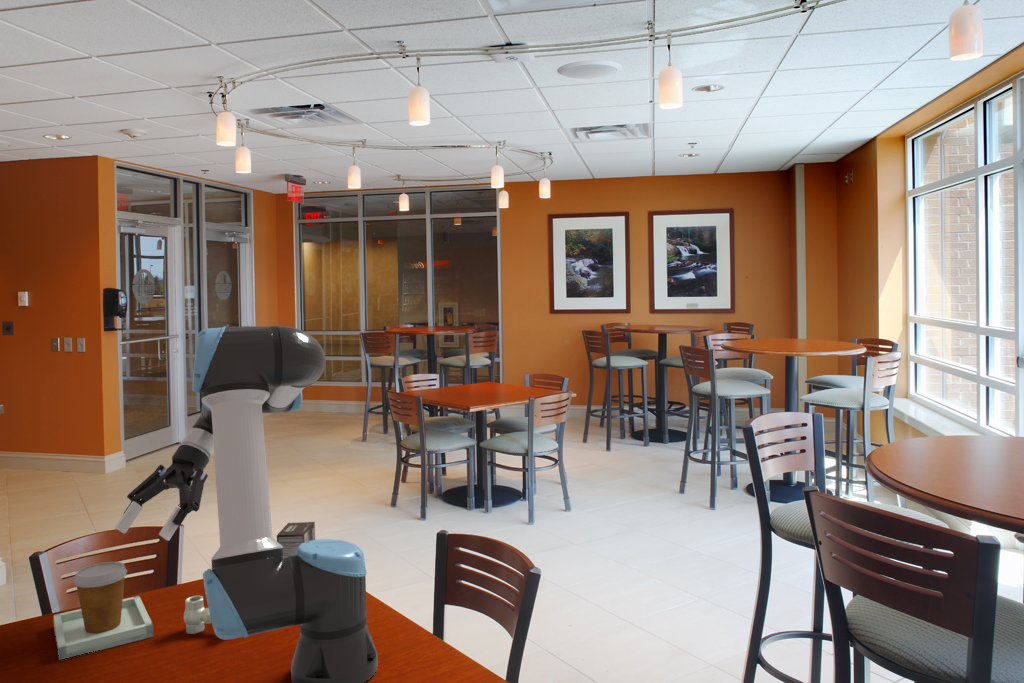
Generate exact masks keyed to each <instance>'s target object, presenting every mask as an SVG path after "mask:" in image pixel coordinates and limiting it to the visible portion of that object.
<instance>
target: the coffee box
mask: <svg viewBox="0 0 1024 683" xmlns="http://www.w3.org/2000/svg"><path fill="white" fill-rule="evenodd" d="M315 524H316V523H315V521H305V522H302V521H301V522H287V524H286V525H285V526H284V527H283V528H282V529H281V530H280V531H279V532H278V533H277V535H276V541H277V542H278V543H279V544H281V545H282V546H283V555H284V557H288V556H294V555H297V554H296V551H297V549H298V547H299V545H301V544H302V543H306V542H308V541H312V540H316V531H315V530H316V527H315V526H316V525H315Z"/></svg>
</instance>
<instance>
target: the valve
mask: <svg viewBox="0 0 1024 683" xmlns="http://www.w3.org/2000/svg"><path fill="white" fill-rule="evenodd" d="M184 602H185V603H184V604H185V605H184V607H185V608H184V612H183V621H184V623H185V633H186V634H193V635H195V634H199V633H201V632H203V631H205V624H212V622H211V618H210V614H209V609H208V607H206V608H205V606H204V596H202V595H193V596H190V597H187V598H186V599H185V601H184Z"/></svg>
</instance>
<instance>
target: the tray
mask: <svg viewBox="0 0 1024 683" xmlns="http://www.w3.org/2000/svg"><path fill="white" fill-rule="evenodd" d="M52 617H53V629H54V636H56V637H55V643H56V642H57V643H56V647H57V649H58V650H57V656H58V655H59V656H58V661H59V660H60V659H65V658H69V657H73V656H76V655H80V656H82V655H81V654H84V653H88V654H90V653H89V652H92V653H95V651H96V652H99V651H98V650H100V651H102V650H107V649H110V648H114V647H118V646H121V645H126V644H131V643H133V642H139V641H141V640H145V639H149V638H153V637H154V624H153V621H152V619H151V617H150V616H149V614H148V612H147V609H146V607H145V605H144V603H143V601H142V598H141V596H140V595H135V596H132V597H127V598H123V601H122V612H121V623H120V625H119V626H117V627H116V628H114V629H112V630H109V631H105V632H100V633H88V632H86V631H85V626H84V621H83V616H82V611H81V608H79V609H75V610H70V611H65V612H61V613H57V614H53V616H52ZM93 651H94V652H93ZM84 655H85V654H84ZM73 658H74V657H73ZM69 659H70V658H69ZM65 660H66V659H65Z"/></svg>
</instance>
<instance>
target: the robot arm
mask: <svg viewBox="0 0 1024 683" xmlns="http://www.w3.org/2000/svg"><path fill="white" fill-rule="evenodd" d="M325 368H326V354H325V351H324V349H323V347H322V346H321V344H320V343H319V341H318V340H316V338H314V337H313V336H312V335H311V334H309V333H307V332H306V331H303V330H302V329H299V328H296V327H293V326H287V325H274V326H273V325H272V326H271V325H269V326H268V325H267V326H265V325H264V326H263V325H261V326H260V325H259V326H257V325H256V326H221V327H210V328H204V329H201V330H200V331H199V332H198V333H197V337H196V342H195V350H194V360H193V371H192V386H191V390H192V392H194V393H196V394H200V396H201V398H200V399H201V411H200V415H199V416H198V418H197V420H196V421H195V423H194V424H193V426H192V427H191V428H190V429H189V431H188V433H187V434H186V435H185V437H184V438H183V439H182V441H181V445H179V446H178V447H177V449H176V451H175V452H174V453H173V454H172V456H171V462H172V463H171V465H169V467H165V466H164V465H163V464H160V465H158V466H157V468H155V470H154V471H153V472H152V473H151V474H150V475H149V476H148V477H147V478H145V479H144V480H143V481H142V482H141V483H140V484H138V485H137V486H136V487H135V488H133V490H132V491H130V492H129V494H127V496H126V498H127V499H128V500H129V501H130V503H129V504H128V506H127V507H126V509H125V510H124V512H123V515H122V516H121V518H120V519H119V521H118V522H117V523H116V525H115V526H114V528H115V529H116V530H117V531H119V532H121V533H123V534H126V533H127V532H128V530H129V529H130V528H131V526H132V525H133V523H134V522H135V520H136V519H137V517H138V516H139V514H140V513H141V512H142V510H143V508H144V506H143V505H144V504H146V503H148V502H149V501H150V500H152V499H153V498H154V497H156V496H158V495H159V494H160V493H162V492H163V491H165V490H169V489H177V490H179V491H178V492H179V493H178V495H179V504H178V505H177V506H176V507H174V510H173V511H172V512H171V514H170V516H169V517H168V519H167V520H166V522H165V524H164V525H163V527H162V528H161V530H160V531H159V532H158V536H160V537H161V538H163V539H164V540H165V541H168V542H169V541H170V540H171V538H172V536H174V534H175V532H176V530H178V528H179V526H181V524H183V522H184V520H185V519H186V517H187V516H188V514H191V512H198V511H199V510H200V506H201V503H202V502H201V501H202V495H203V491H204V485H205V483H206V480H207V479H208V477H209V475H208V473H206V472H205V471H204V470H205V469H206V467H207V465H208V464H209V462H210V459H211V458H212V457H213V456H214V469H215V485H216V487H215V488H216V500H217V502H216V503H217V516H218V517H217V518H218V531H219V532H218V533H219V534H218V535H219V548H218V549H217V551H216V552H215V553H214V555H213V556H212V557H211V558H210V560H211V568H208V569H206V570H205V571H203V573H202V579H203V580H202V581H203V585H204V592H205V599H206V603H207V608H208V609H209V614H210V618H211V625H212V629H213V632H214V634H215V636H216V637H217V638H219V639H220V640H224V641H226V640H227V641H228V640H234V639H238V638H243V637H244V638H246V639H247V638H249V636H255V635H258V634H262V633H268V632H272V631H277V630H281V629H284V628H290V627H294V626H299V637H298V641H297V645H296V647H295V651H294V653H293V658H292V660H291V665H290V678H291V683H364V682H365V683H367V682H368V681H369V680H371V679H372V678H373V677H374V676H375V674H376V673H377V671H378V668H377V667H379V666H378V665H379V661H378V660H379V659H378V657H379V656H378V652H377V648H376V646H375V642H374V641H373V638H372V636H371V633H370V630H369V627H368V622H367V582H366V581H367V580H366V576H367V573H368V572H367V569H366V562H365V561H366V560H365V554H364V551H363V550H362V549H361V548H360V546H358V545H357V544H355V543H352V542H349V541H346V540H340V539H327V538H325V539H323V538H322V539H315V540H312V541H308V542H306V543H302V544H301V545H299V547H298V549H297V551H296V554H297V555H294V556H288V557H284V555H283V546H282V545H281V544H279V543H278V542H277V540H275V539H274V536H273V535H274V534H273V526H272V525H273V524H272V512H271V510H272V509H271V500H270V489H269V488H270V487H269V474H268V465H267V453H266V452H267V451H266V440H265V429H264V417H263V416H264V415H265V414H274V413H275V414H276V413H286V414H287V413H290V412H297V411H299V410H301V408H302V406H303V405H302V404H303V390H304V389H305V388H308V387H310V386H312V385H313V384H315V383H316V382H317V381H318V380H319V379H320V377H322V375H323V373H324V371H325ZM376 670H377V671H376ZM375 672H376V673H375ZM373 675H374V676H373ZM372 676H373V677H372ZM371 677H372V678H371ZM370 678H371V679H370ZM367 680H368V681H367ZM366 681H367V682H366Z"/></svg>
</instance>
